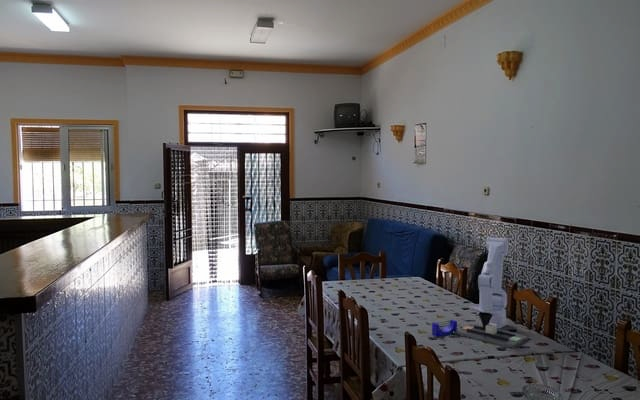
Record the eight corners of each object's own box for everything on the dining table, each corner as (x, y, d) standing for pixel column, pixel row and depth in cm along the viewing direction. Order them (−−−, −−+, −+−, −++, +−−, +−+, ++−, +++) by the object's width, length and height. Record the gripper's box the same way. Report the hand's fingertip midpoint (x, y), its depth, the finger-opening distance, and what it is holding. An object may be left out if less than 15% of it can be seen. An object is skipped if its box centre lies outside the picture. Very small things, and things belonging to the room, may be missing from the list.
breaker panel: (471, 326, 248) (471, 321, 248) (527, 339, 229) (527, 333, 229) (454, 334, 237) (454, 328, 237) (512, 348, 217) (512, 342, 217)
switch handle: (490, 331, 235) (490, 323, 235) (496, 332, 233) (496, 324, 233) (485, 333, 232) (485, 325, 232) (491, 335, 230) (491, 326, 229)
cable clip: (450, 330, 242) (451, 318, 242) (456, 333, 238) (456, 321, 238) (430, 334, 238) (430, 321, 237) (435, 336, 234) (435, 324, 233)
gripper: (467, 298, 236) (467, 326, 237) (496, 304, 226) (496, 333, 226) (474, 296, 241) (474, 323, 242) (503, 301, 231) (503, 330, 231)
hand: (485, 328), depth 234 cm, fingers closed
